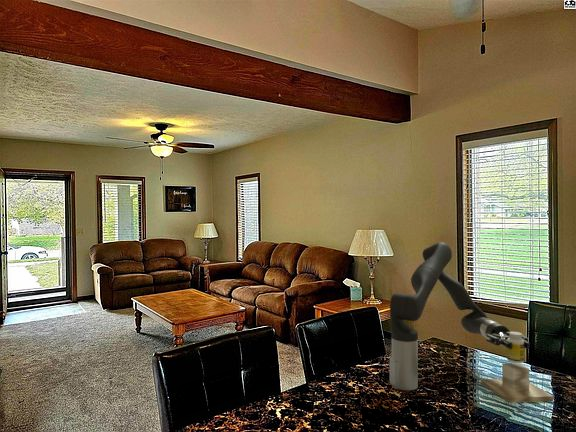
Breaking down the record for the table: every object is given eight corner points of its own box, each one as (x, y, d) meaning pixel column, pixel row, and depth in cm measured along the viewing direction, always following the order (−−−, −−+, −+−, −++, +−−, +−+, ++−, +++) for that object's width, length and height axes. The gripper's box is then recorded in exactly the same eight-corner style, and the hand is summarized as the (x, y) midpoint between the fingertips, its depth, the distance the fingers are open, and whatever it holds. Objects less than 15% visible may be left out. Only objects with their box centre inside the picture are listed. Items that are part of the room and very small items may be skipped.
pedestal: (508, 402, 138) (508, 375, 138) (481, 383, 154) (481, 359, 154) (553, 400, 140) (553, 373, 140) (521, 381, 156) (521, 357, 156)
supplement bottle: (522, 364, 143) (522, 336, 143) (505, 361, 147) (505, 333, 146) (525, 360, 148) (525, 332, 148) (508, 356, 151) (508, 329, 151)
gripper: (476, 322, 161) (499, 335, 144) (512, 322, 161) (540, 335, 145) (476, 341, 161) (499, 357, 144) (512, 341, 162) (540, 356, 145)
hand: (519, 346), depth 145 cm, fingers closed on supplement bottle, 5 cm apart
